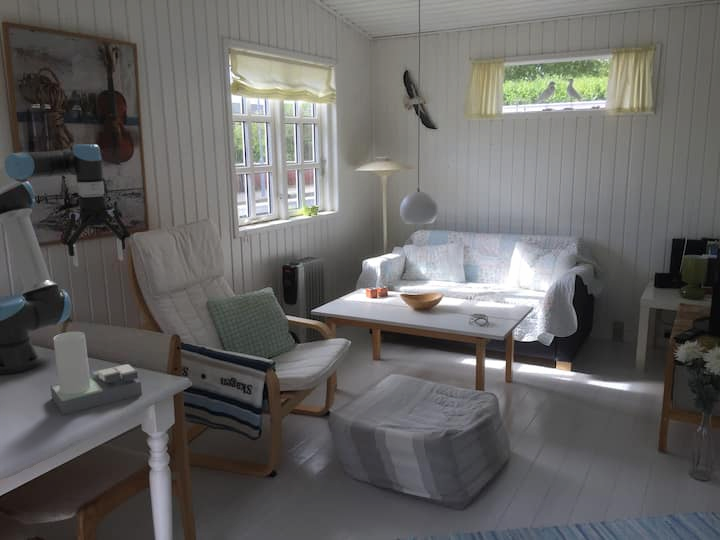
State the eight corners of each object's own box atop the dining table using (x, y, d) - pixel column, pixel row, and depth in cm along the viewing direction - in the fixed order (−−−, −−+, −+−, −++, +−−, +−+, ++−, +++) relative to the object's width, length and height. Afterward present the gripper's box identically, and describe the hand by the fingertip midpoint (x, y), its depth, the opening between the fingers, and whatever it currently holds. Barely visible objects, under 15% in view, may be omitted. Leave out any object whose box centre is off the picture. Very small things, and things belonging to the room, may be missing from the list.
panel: (52, 398, 188) (49, 376, 186) (126, 379, 201) (124, 359, 200) (63, 414, 177) (60, 391, 176) (141, 394, 190) (139, 372, 189)
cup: (79, 395, 179) (72, 341, 175) (53, 393, 180) (46, 340, 177) (96, 383, 187) (90, 332, 183) (71, 381, 188) (65, 330, 184)
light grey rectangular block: (97, 371, 190) (105, 376, 184) (111, 367, 192) (119, 372, 186) (98, 377, 190) (106, 382, 184) (112, 374, 193) (120, 379, 186)
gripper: (50, 199, 184) (59, 270, 189) (136, 193, 199) (142, 259, 204) (44, 197, 190) (53, 266, 195) (128, 191, 205) (134, 255, 210)
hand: (98, 262), depth 199 cm, fingers open, 13 cm apart
